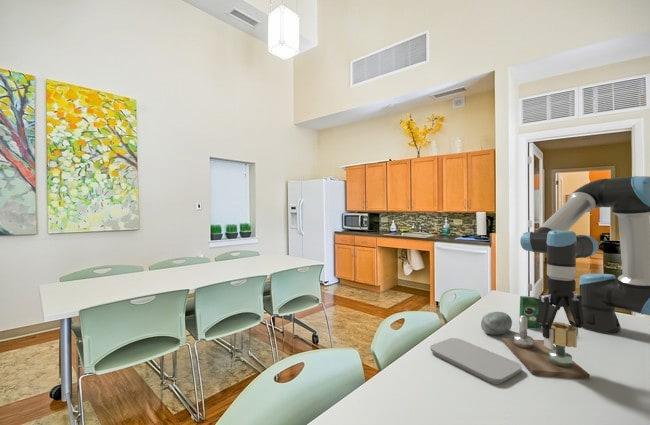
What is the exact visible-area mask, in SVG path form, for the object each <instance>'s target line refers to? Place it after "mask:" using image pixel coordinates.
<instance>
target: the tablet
mask: <svg viewBox="0 0 650 425" xmlns="http://www.w3.org/2000/svg"><path fill="white" fill-rule="evenodd" d="M429 347H430V348H429V349H430V351H431V353H432V354H433V355H434V356H436V357H438V358H440V359H442V360H444V361H446V362H448V363H449V364H450V363H451V365H454V366H456V367H458V368H460V369H462V370H464V371H466V372H468V373H470V374H472V375H474V376H476V377H478V378H480V379H482V380H484V381H486V382H488V383H491V384H495V385H496V384H497V385H499V384H502V383H504V382H506V381H507V380H509V379H511V378H513V377H514V376H516V375H519V373H520V372H521V371H522V368H523V367H522V365H521V364H520V363H518V362H516V361H515V360H512V359H510V358H508V357H505V356H502V355H499V354H498V353H495V352H493V351H490V350H488V349H485V348H483V347H480V346H479V345H476V344H473V343H471V342H469V341H466V340H464V339H461V338H457V337H455V338H454V337H451V338H447V339H444V340H442V341H439V342H437V343H433V344H430V346H429Z"/></svg>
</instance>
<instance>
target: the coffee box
mask: <svg viewBox="0 0 650 425" xmlns="http://www.w3.org/2000/svg"><path fill="white" fill-rule="evenodd" d="M539 305H540V299H539V296H526V295H525V296H524V295H520V296H519V317H520V316H522V315H524V316H526V317H527V328H536V329H538V328H539V329H541V328H542V326H539V325H537V317H538V311H539ZM518 321H519V323H518V324H519V326H520V318H519V320H518Z"/></svg>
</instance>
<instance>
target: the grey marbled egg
mask: <svg viewBox="0 0 650 425" xmlns="http://www.w3.org/2000/svg"><path fill="white" fill-rule="evenodd" d="M480 322H481V323H480V327H481V330H482V331H483V332H484V333H485V334H487V335H492V336H496V335H497V336H498V335H501V334H502V335H503V334H505V333H507V332H509V331H510V330H511V329H512V326H513V319H512V317H511V316H510V315H509V314H507V313H506V312H503V311H492V312H488V313H486V314H484V315H483V317H482V319H481V321H480Z"/></svg>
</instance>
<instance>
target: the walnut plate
mask: <svg viewBox="0 0 650 425" xmlns="http://www.w3.org/2000/svg"><path fill="white" fill-rule="evenodd" d="M501 341H502V343H503V345H505V346H506V347H507V349H509V351H510V352H512V354H513V355H514V356H515V358H517V359H518V361H519V362H520V363H521V364H522V365H523V366H524V368H525V369H527V370H528V372H529V373H530V374H531V375H532V376H545V377H555V378H556V377H557V378H569V379H570V378H571V379H580V380H581V379H582V380H591V374H590V373H589V372H588V371H587V370H585V369H584V368H582V367H581V366H580V365H579V364H577V362H575V361H574V360H572V367H571V368H562V367H558V366H555V365H553V364H551V363H550V362H549V351H550V350H556V345H555V344H553V349H549V348H547V347H545V346H544V339H533V348H532V349H523V348H519V347H517V346H515V345H514V337H513V338H511V337H502V338H501Z"/></svg>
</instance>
